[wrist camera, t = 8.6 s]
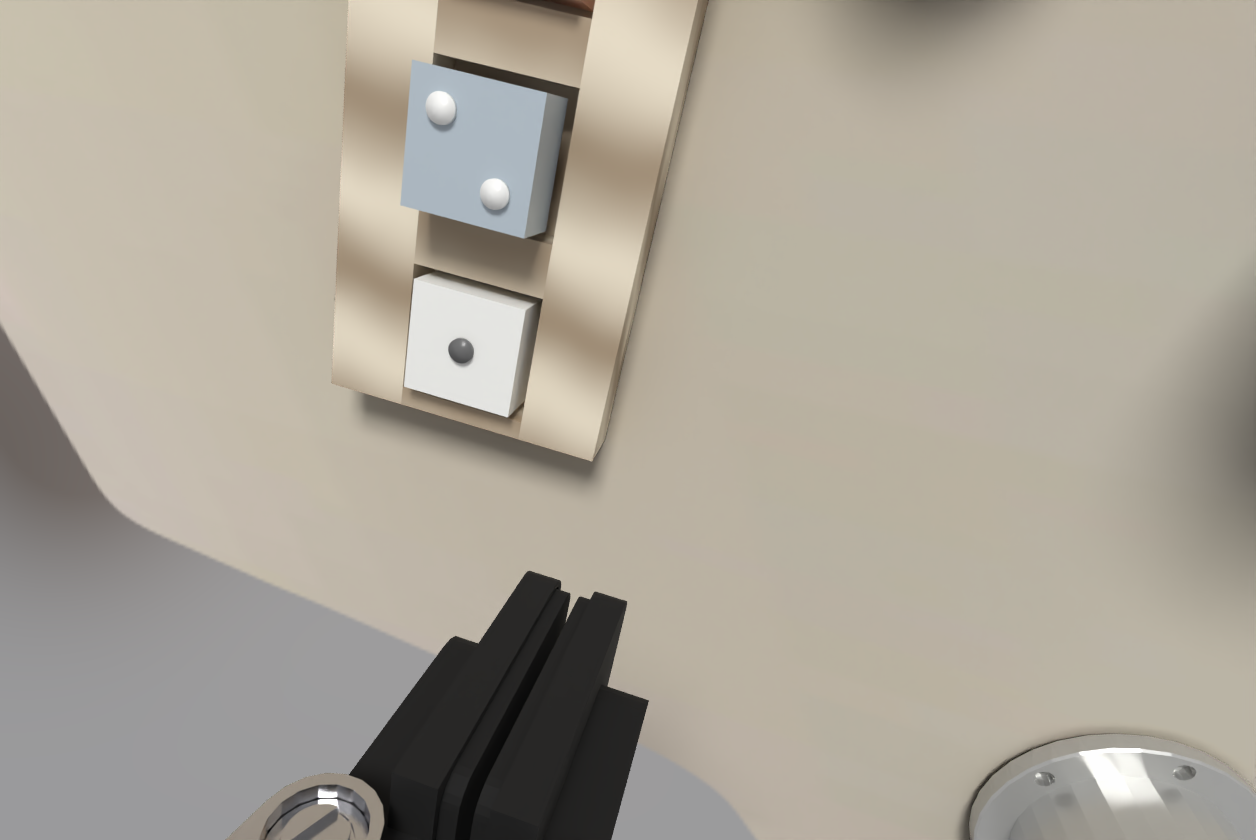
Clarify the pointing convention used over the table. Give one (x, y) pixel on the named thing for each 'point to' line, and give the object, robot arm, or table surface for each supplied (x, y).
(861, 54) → the table surface
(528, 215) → the key
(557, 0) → the key
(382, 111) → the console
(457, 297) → the key
